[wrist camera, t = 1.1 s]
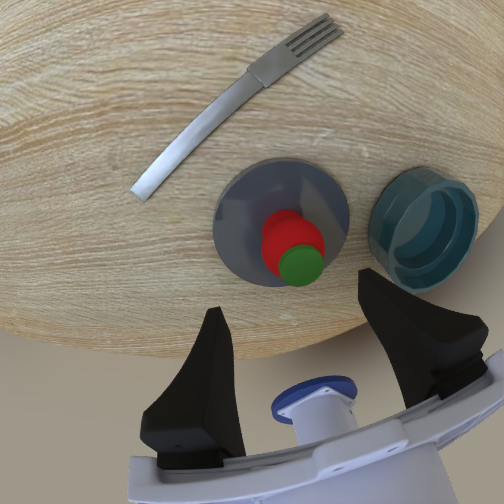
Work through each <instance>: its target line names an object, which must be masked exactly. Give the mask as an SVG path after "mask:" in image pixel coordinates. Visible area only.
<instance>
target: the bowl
mask: <svg viewBox="0 0 504 504" xmlns="http://www.w3.org/2000/svg"><path fill="white" fill-rule="evenodd" d="M478 219H479V210H478V206H477V202H476V199H475V195H474V194H473V193H472V192H471V190H470V189H469V188H468V187H467V186H466V185H465V184H464V183H463V182H461V181H459V180H457V179H455V178H453V177H451V176H449V175H447V174H445V173H443V172H441V171H439V170H436V169H432V168H427V167H419V168H416V169H413V170H410V171H407V172H404V173H402V174H401V175H400V176H399V177H398V178H396V179H395V180H394V181H393V182H392V183H391V184H390V185H388V186H387V187H386V189H385V190H384V192H383V194H382V195H381V197H380V199H379V201H378V202H377V204H376V206H375V207H374V210H373V212H372V217H371V221H370V225H369V229H368V237H369V245H370V252H371V254H372V255H373V257H374V258H375V260H376V261H377V263H378V264H379V266H380V267H381V268H382V269H383V271H384V272H385V273H386V274H387V275H388V277H389V278H390V279H391V281H392V282H393V283H394V284H395V285H397V286H398V287H400V288H402V289H403V290H405V291H407V292H409V293H410V294H415V293H423V292H428V291H430V290H432V289H434V288H436V287H438V286H439V285H441V284H443V283H445V282H446V281H447V280H448V279H449V278H450V277H451V276H452V275H453V274H454V273H455V272H456V271H457V270H458V269H459V268H460V267H461V265H462V264H463V262H464V261H465V259H466V257H467V256H468V254H469V252H470V251H471V248H472V246H473V243H474V240H475V237H476V234H477V230H478Z"/></svg>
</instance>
